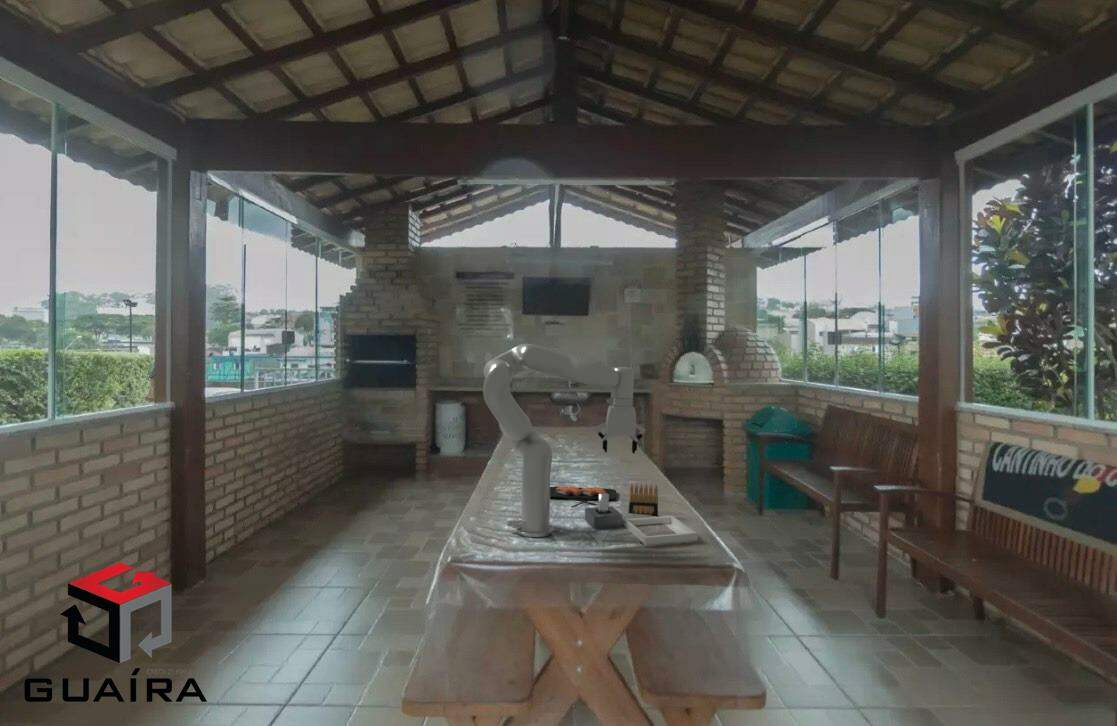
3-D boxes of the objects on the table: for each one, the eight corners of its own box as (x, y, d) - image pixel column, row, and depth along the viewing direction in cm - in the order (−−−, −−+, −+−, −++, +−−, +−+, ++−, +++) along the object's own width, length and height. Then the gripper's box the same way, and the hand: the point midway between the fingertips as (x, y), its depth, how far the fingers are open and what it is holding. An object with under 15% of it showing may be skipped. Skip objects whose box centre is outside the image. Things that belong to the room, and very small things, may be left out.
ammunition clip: (628, 515, 212) (628, 483, 212) (628, 514, 214) (628, 482, 213) (658, 517, 211) (658, 484, 210) (657, 515, 213) (658, 483, 212)
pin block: (594, 531, 195) (594, 517, 195) (584, 522, 204) (585, 508, 204) (622, 529, 198) (622, 514, 197) (611, 520, 207) (611, 506, 207)
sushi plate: (616, 493, 244) (616, 484, 243) (616, 516, 214) (616, 505, 214) (547, 490, 246) (547, 481, 246) (538, 512, 217) (538, 502, 216)
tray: (645, 547, 181) (645, 537, 181) (623, 528, 199) (623, 519, 199) (697, 542, 186) (697, 533, 186) (671, 524, 204) (671, 515, 203)
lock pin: (599, 524, 199) (600, 496, 198) (596, 521, 202) (597, 493, 202) (609, 524, 200) (610, 495, 199) (606, 520, 203) (606, 492, 203)
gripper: (597, 403, 196) (595, 453, 197) (648, 405, 197) (646, 455, 197) (595, 400, 204) (593, 449, 205) (645, 402, 204) (642, 451, 205)
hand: (619, 452), depth 201 cm, fingers open, 9 cm apart
